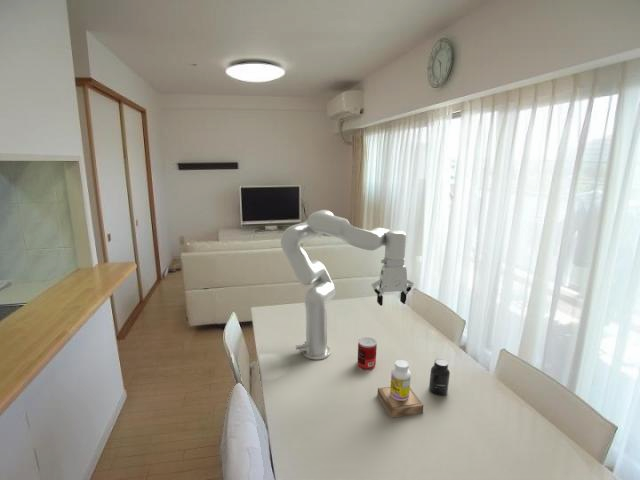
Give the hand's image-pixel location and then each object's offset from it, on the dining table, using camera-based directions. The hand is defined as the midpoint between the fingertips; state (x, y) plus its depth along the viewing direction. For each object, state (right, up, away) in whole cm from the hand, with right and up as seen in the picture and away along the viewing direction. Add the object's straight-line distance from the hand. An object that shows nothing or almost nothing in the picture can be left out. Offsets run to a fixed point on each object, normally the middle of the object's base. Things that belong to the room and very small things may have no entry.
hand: (391, 303), depth 139 cm
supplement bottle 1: (0, -31, -14) cm, 34 cm away
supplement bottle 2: (+17, -33, -6) cm, 37 cm away
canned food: (-8, -29, +11) cm, 32 cm away
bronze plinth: (0, -34, -13) cm, 36 cm away
